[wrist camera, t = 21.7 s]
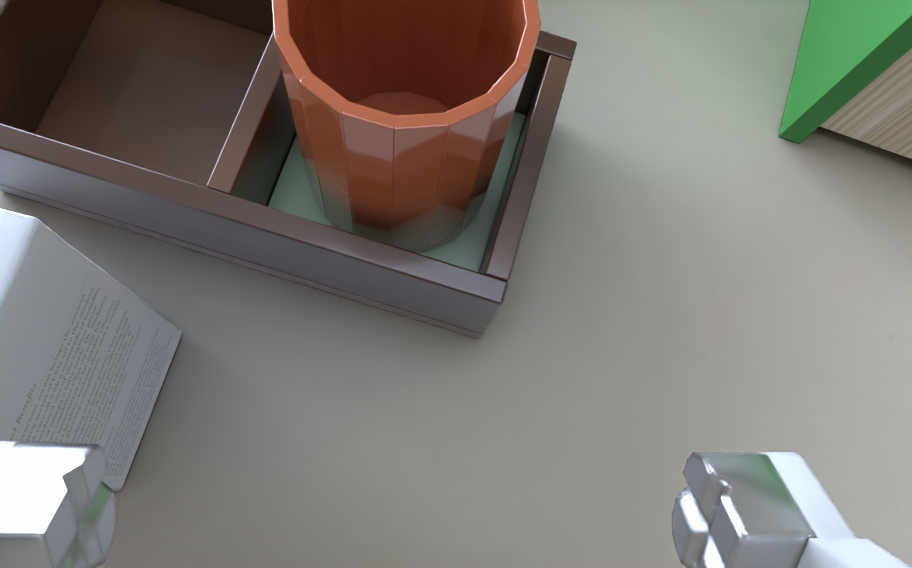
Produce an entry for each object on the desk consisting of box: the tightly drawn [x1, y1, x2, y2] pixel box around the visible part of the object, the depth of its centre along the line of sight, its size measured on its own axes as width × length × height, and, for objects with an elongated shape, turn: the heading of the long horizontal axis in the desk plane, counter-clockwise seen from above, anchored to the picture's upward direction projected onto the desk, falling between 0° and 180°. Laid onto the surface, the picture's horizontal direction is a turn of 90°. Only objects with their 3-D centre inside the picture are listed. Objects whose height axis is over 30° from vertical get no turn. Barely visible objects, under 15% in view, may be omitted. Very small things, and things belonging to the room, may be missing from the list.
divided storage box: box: [0, 0, 577, 339], centre depth 27 cm, size 10×19×6 cm, turn 74°
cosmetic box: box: [0, 208, 182, 491], centre depth 21 cm, size 6×4×12 cm
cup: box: [272, 0, 541, 253], centre depth 24 cm, size 7×7×10 cm
